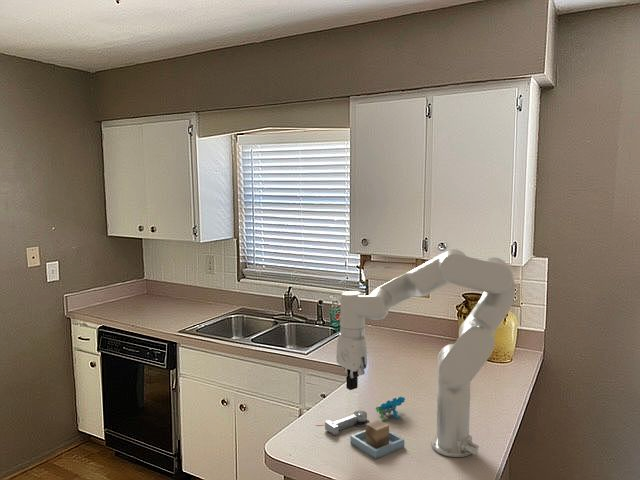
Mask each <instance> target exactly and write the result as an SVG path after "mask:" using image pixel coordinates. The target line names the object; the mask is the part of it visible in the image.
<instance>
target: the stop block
mask: <svg viewBox="0 0 640 480" xmlns="http://www.w3.org/2000/svg"><path fill="white" fill-rule="evenodd" d="M365 430H366V443H367V444H369V445H371V446H372V447H374V448H376V449H378V448H380V447H383V446H385V445H387V444H389V431H390V425H389V424H387V423H385V422H384V421H382V420H380V419H375V420H373V421H369V423H367V424H366V426H365Z"/></svg>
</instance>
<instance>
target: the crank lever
mask: <svg viewBox="0 0 640 480" xmlns="http://www.w3.org/2000/svg"><path fill="white" fill-rule="evenodd" d="M367 420H368V413H367V412H366V411H365V410H356V411H354V412H353V414H351V415H348V416H346V417H343V418H340V419H336V420H334V421H331V420H330V419H328V420H326V421H324V424H325V425H324V430H326V431H327V432H329V433H330V434H331V435H333V436H337V435H339V431H341V430H343V429H346V428H347V429H348V428H349V427H352V426H354V425H355V424H365V423H366V422H367Z"/></svg>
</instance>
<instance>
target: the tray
mask: <svg viewBox="0 0 640 480" xmlns="http://www.w3.org/2000/svg"><path fill="white" fill-rule="evenodd" d="M349 437H350V438H349V439H350V444H351V445H352V446H353V447H355V448H357V449H358V450H360V451H362V452H363V453H365V454H366V455H368V456H370V457H371V458H372V459H374V460H377V459H380V458H383V457H385V456H387V455H389V454H392V453H394V452H396V451H399V450H401V449H404V448H405V439H404V438H403V437H401V436H400V435H397V433H396V434H395V433H394V432H392V431H391V430H389V444H387V445H385V446H383V447H380V448H378V449H376V448H374V447H372V446H371V445H369V444H367V443H366V429H364V430H362V431H359V432H356V433H354V434H351V435H350V436H349Z"/></svg>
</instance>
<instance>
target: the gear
mask: <svg viewBox="0 0 640 480" xmlns="http://www.w3.org/2000/svg"><path fill="white" fill-rule="evenodd" d="M405 400H406V398H405V397H402V396H399V397H395V398H392V400H387V401H386V402H385V403H382V404H380V406H376V407H375V410H376V413H378V414H379V415H381V417H382V419H383V421H386V416H385V415H384V414H386V413H389V412H391V411H392V413H393V416H394V417H395V419H396V420H397V419H399V415H398V413H397V407H398V406H399V407H400V406H401V405H402V404H403V403H405V402H406V401H405Z"/></svg>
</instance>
